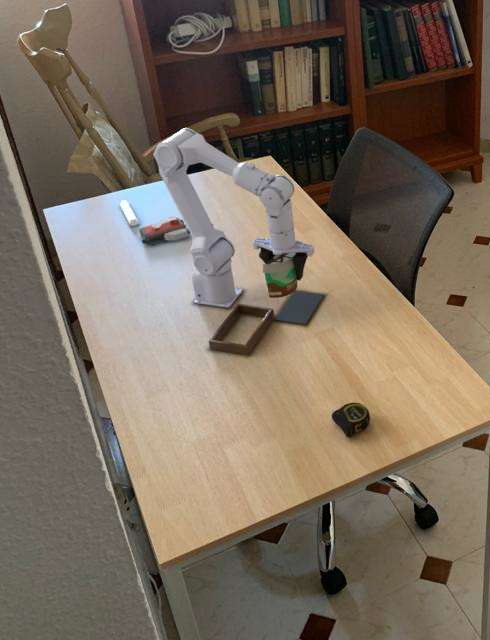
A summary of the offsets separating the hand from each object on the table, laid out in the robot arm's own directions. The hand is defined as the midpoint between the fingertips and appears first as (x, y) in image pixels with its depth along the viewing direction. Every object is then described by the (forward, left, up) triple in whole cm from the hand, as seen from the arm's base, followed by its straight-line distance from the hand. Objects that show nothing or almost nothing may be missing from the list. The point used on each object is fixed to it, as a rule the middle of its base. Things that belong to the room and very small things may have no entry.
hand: (287, 276), depth 191 cm
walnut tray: (-8, -11, -10) cm, 17 cm away
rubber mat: (+1, +2, -10) cm, 11 cm away
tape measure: (+27, -35, -11) cm, 46 cm away
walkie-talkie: (-47, +28, -8) cm, 55 cm away
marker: (-67, +36, -11) cm, 76 cm away
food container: (0, 0, -4) cm, 4 cm away
